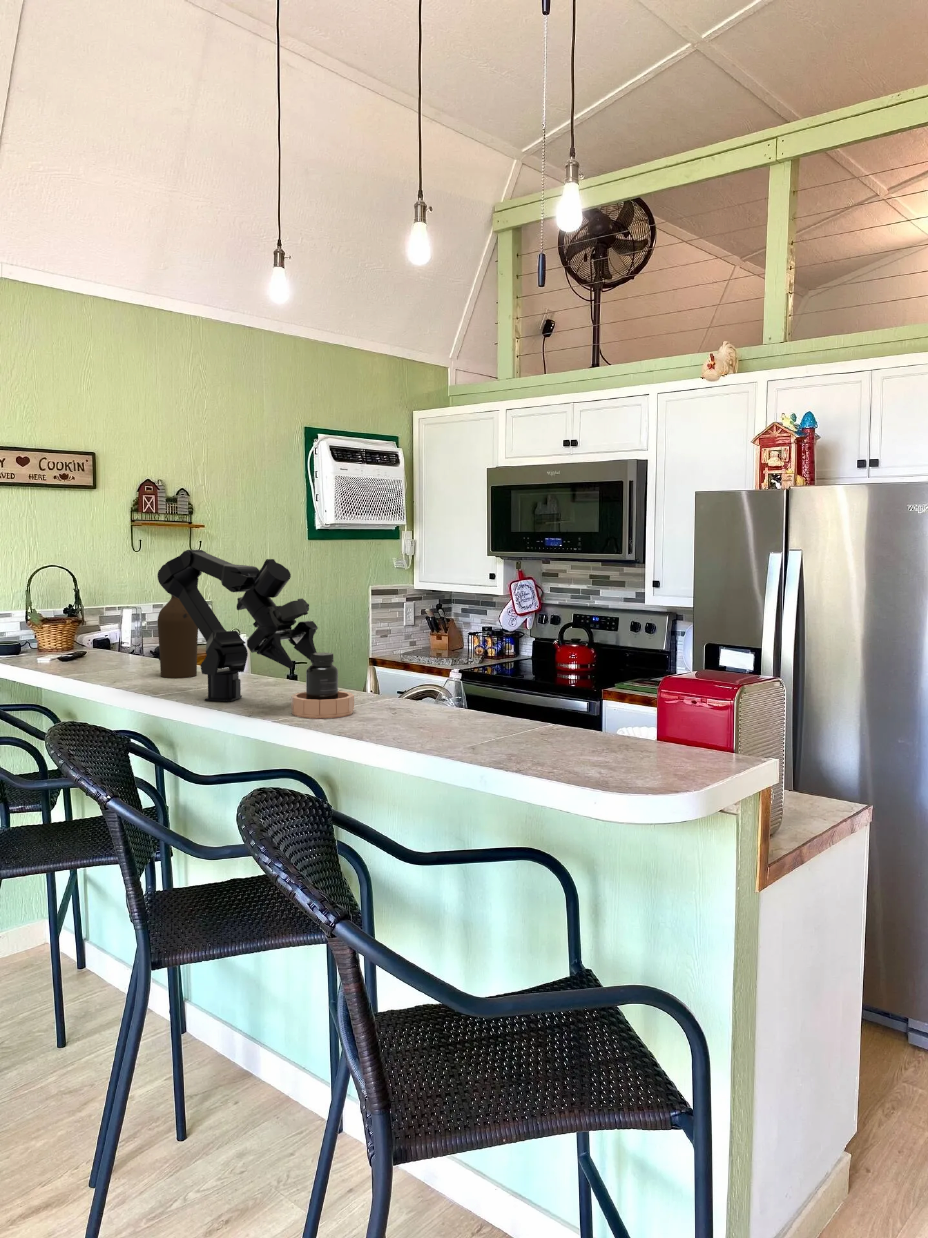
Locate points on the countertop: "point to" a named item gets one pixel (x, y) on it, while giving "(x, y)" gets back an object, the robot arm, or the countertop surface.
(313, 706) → the terracotta bowl
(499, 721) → the countertop surface
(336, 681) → the supplement bottle
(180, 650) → the olive oil
